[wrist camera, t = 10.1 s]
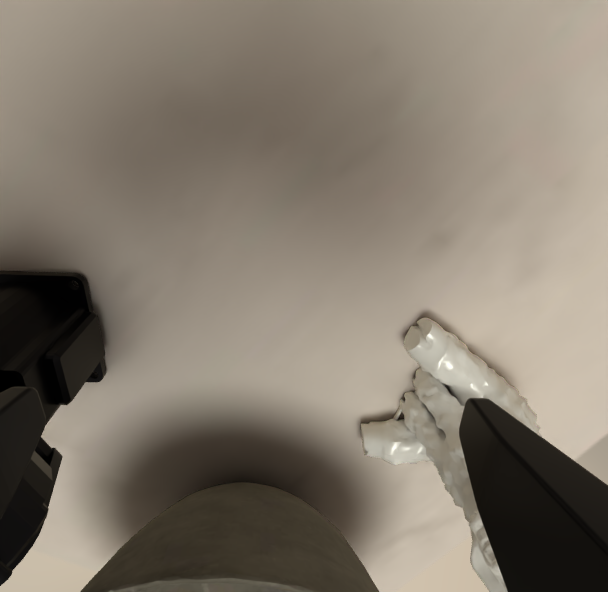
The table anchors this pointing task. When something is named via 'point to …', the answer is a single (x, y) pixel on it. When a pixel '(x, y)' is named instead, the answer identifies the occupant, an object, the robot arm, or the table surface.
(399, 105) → the table surface
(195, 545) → the bowl
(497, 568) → the white creature statuette
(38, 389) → the robot arm
